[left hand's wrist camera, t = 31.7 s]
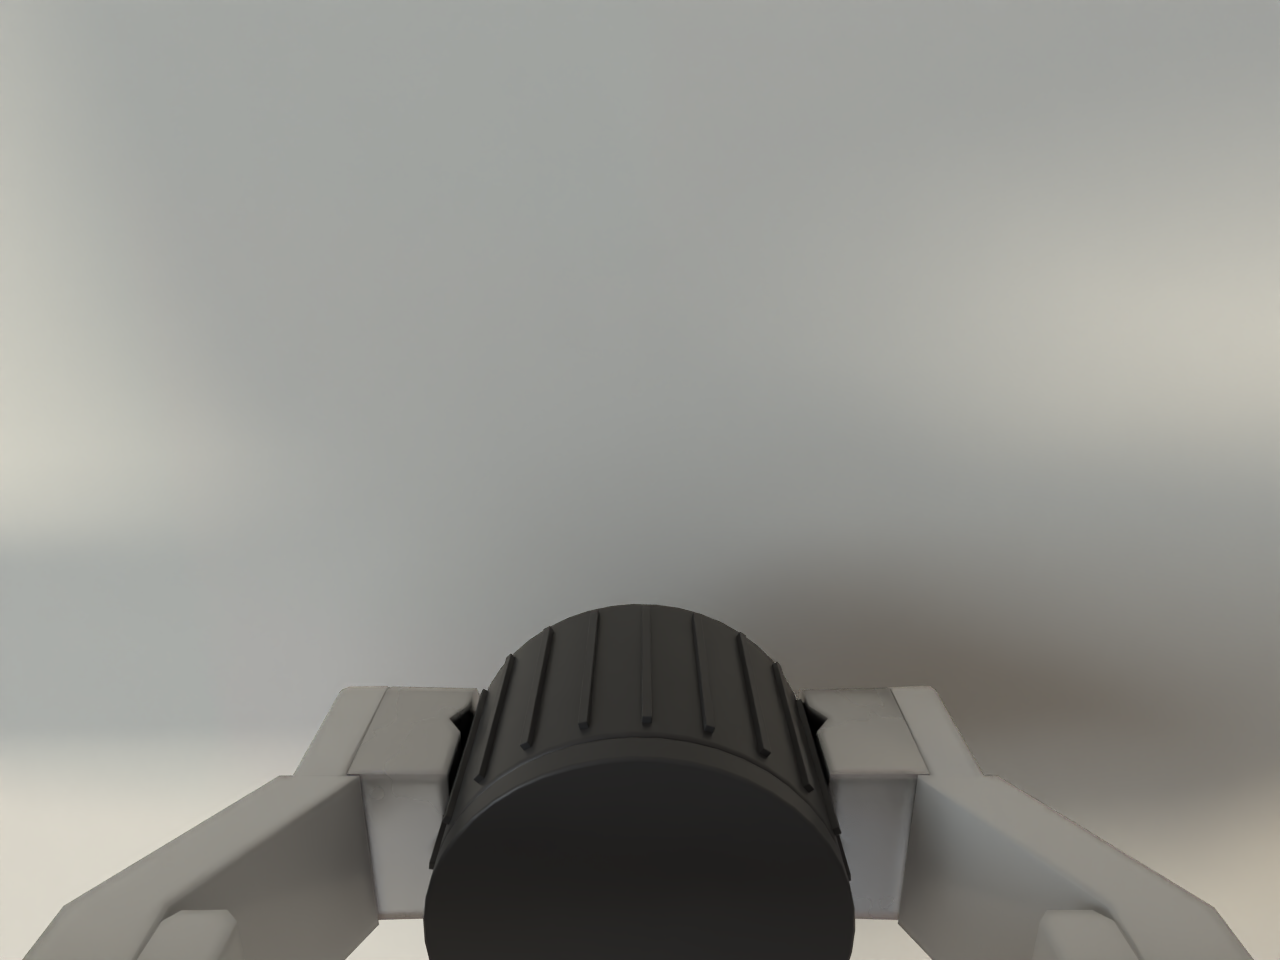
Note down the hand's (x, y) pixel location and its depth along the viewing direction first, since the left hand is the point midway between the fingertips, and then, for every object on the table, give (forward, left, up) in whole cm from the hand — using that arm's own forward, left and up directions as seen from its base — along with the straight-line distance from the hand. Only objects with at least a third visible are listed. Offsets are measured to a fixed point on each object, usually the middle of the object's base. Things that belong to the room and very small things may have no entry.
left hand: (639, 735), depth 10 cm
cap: (0, 0, 0) cm, 0 cm away
